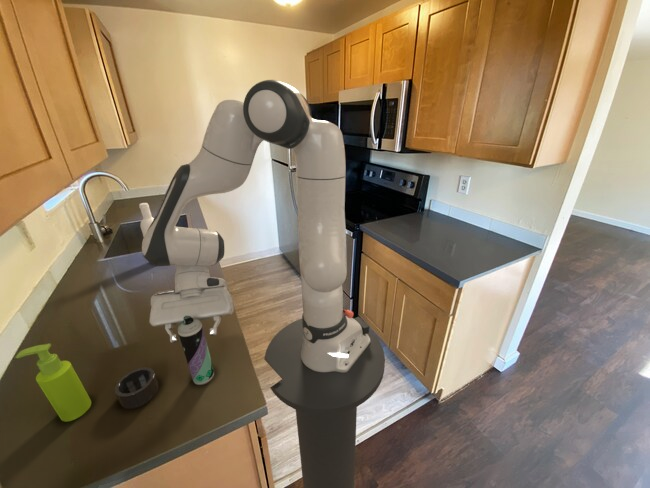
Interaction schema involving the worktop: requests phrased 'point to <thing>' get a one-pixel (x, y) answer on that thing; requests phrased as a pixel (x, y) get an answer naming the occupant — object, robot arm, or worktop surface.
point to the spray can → (196, 350)
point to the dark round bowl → (136, 388)
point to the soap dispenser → (59, 383)
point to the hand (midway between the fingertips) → (194, 338)
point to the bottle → (145, 217)
